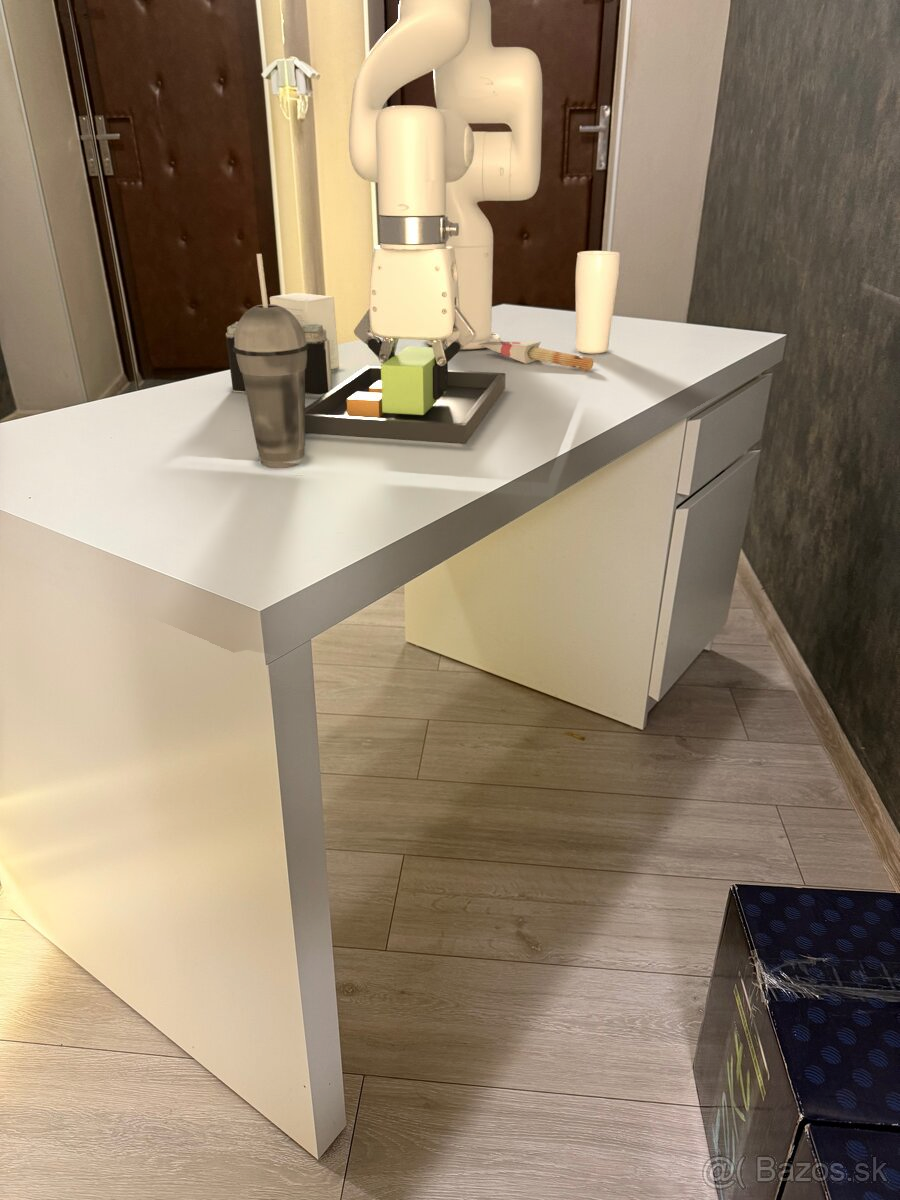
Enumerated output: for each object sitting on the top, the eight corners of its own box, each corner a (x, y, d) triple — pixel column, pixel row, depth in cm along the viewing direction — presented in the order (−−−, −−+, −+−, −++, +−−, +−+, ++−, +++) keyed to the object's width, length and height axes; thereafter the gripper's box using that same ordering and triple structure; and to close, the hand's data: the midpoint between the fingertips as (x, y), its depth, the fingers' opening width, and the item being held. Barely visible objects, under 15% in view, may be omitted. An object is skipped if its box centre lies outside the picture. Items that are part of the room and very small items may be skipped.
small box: (340, 370, 124) (335, 296, 119) (312, 377, 120) (306, 300, 115) (304, 363, 128) (298, 291, 123) (276, 369, 125) (268, 295, 120)
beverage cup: (254, 476, 82) (229, 260, 73) (240, 455, 88) (215, 252, 79) (325, 466, 85) (310, 256, 76) (307, 446, 91) (290, 249, 81)
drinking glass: (621, 352, 135) (630, 253, 128) (590, 357, 132) (597, 255, 125) (592, 345, 140) (599, 249, 133) (562, 350, 137) (568, 252, 130)
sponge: (408, 389, 107) (408, 346, 105) (446, 391, 106) (446, 347, 104) (382, 412, 97) (380, 364, 94) (423, 415, 96) (422, 366, 93)
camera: (214, 396, 110) (204, 318, 106) (241, 384, 116) (232, 310, 111) (315, 405, 106) (308, 324, 102) (337, 392, 112) (332, 315, 107)
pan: (367, 384, 116) (366, 366, 115) (505, 392, 112) (505, 373, 111) (296, 437, 94) (294, 414, 93) (465, 449, 90) (465, 425, 89)
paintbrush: (491, 331, 134) (597, 353, 124) (490, 349, 136) (595, 371, 125) (476, 335, 132) (584, 357, 121) (475, 352, 133) (582, 376, 122)
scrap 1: (358, 407, 103) (357, 391, 102) (388, 409, 102) (388, 393, 101) (347, 415, 99) (346, 398, 99) (379, 417, 99) (378, 400, 98)
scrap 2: (378, 395, 108) (378, 380, 107) (408, 397, 107) (407, 381, 106) (369, 403, 105) (368, 387, 104) (400, 405, 104) (399, 389, 103)
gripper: (493, 232, 95) (489, 392, 103) (351, 230, 98) (358, 385, 106) (481, 236, 88) (478, 407, 96) (329, 234, 91) (339, 399, 100)
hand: (415, 394), depth 101 cm, fingers closed on sponge, 5 cm apart
